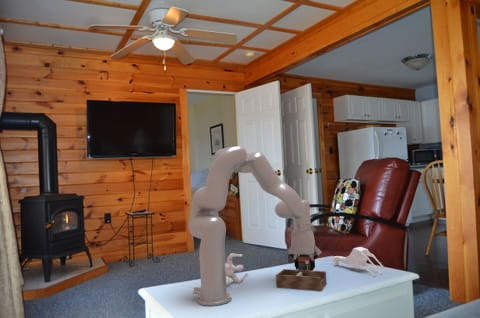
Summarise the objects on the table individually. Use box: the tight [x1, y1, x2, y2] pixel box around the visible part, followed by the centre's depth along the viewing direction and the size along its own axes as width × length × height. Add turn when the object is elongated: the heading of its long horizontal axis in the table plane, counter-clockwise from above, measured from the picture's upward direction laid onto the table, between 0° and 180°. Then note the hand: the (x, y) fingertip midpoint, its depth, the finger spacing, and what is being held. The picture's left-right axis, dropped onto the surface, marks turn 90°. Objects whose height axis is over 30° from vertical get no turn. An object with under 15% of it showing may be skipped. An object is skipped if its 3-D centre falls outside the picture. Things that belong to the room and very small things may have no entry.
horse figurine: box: [332, 246, 384, 277], centre depth 169 cm, size 5×16×25 cm
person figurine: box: [199, 253, 249, 288], centre depth 158 cm, size 13×13×18 cm
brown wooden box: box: [275, 268, 327, 292], centre depth 150 cm, size 18×10×5 cm, turn 65°
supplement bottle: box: [297, 255, 313, 271], centre depth 162 cm, size 6×6×11 cm
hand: (304, 268), depth 162 cm, fingers open, 6 cm apart
